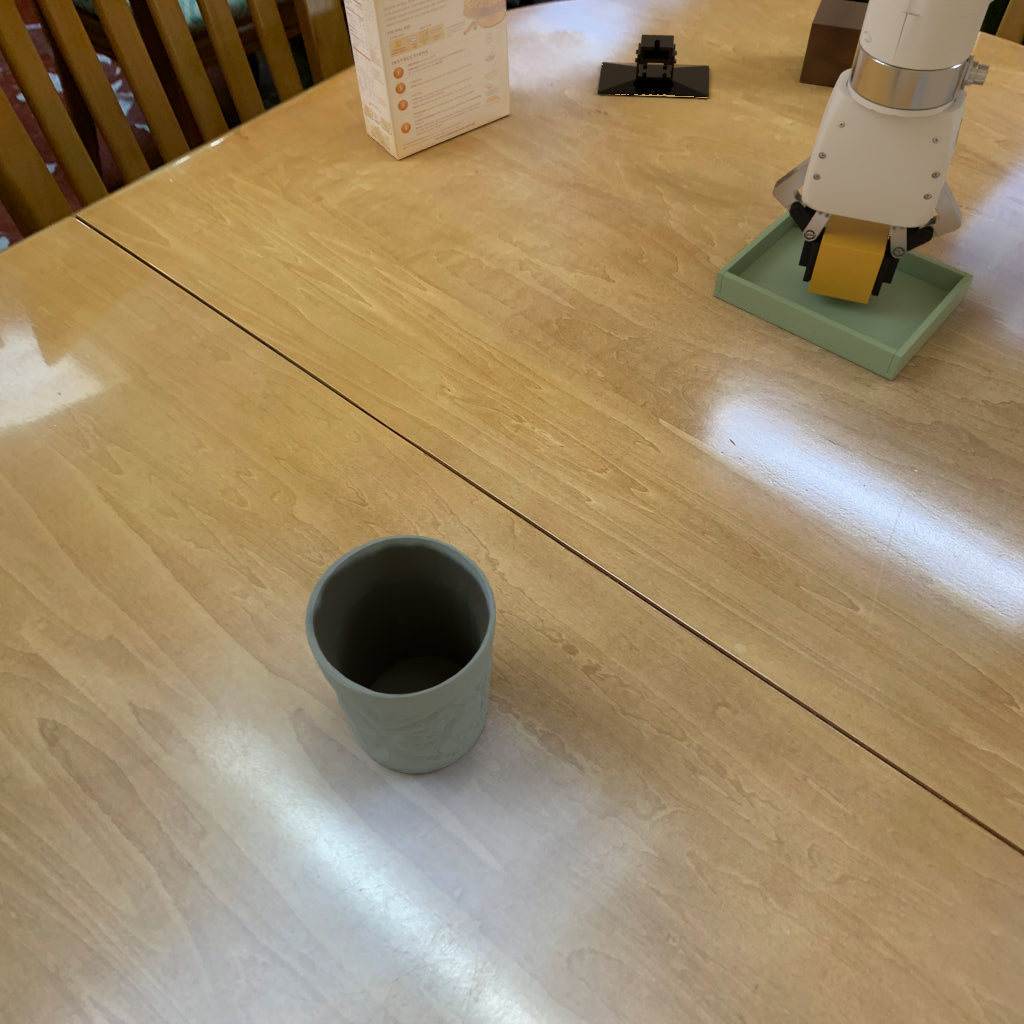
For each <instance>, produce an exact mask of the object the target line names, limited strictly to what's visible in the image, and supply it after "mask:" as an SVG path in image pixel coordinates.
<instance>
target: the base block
mask: <svg viewBox="0 0 1024 1024" xmlns="http://www.w3.org/2000/svg"><path fill="white" fill-rule="evenodd" d="M868 3H869V2H861V1H853V0H820V2H819V5H818V8H817V10H816V12H815V15H814V17H813V20H812V22H811V26H810V30H809V35H808V40H807V45H806V49H805V53H804V58H803V63H802V68H801V72H800V77H799V83H804V84H811V85H816V86H817V85H818V86H824V87H832V88H834V87H835V84H836V82H837V80H838V78H839V76H840V75H841V73H842V72H844V71H845V70H848V69H851V68H852V64H853V61H854V57H855V53H856V49H857V45H858V41H859V38H860V34H861V30H862V26H863V23H864V19H865V15H866V11H867V7H868Z"/></svg>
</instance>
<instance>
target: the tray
mask: <svg viewBox="0 0 1024 1024" xmlns="http://www.w3.org/2000/svg"><path fill="white" fill-rule="evenodd" d="M827 222H828V221H827ZM826 225H827V223H826V224H825V226H824V227H826ZM802 234H803V232H802V230H801V229H800V228H799V226H798V225H797V224H796V222H795V221H794V220H793V219H792V217H791V216H790V214H789V211H788V209H786V211H785V212H784V213H783V214H782V215H781V216H779V218H777V219H776V220H775V221H773V223H771V224H770V225H769V226H768V227H767V228H765V229H764V230H763V231H762V232H761V233H760V234H759V235H757V236H756V237H755V238H754V239H753V240H751V242H750V243H749V244H748V245H746V246H745V247H744V248H742V250H741V251H740V252H738V253H737V254H736V255H734V257H733V258H731V259H730V260H729V261H728V262H726V263H725V265H723V266H722V267H721V268H720V269H719V270H718V271H717V272H716V273H717V274H716V276H715V277H716V278H715V284H714V290H713V296H714V297H716V298H718V299H720V300H721V301H725V302H726V303H729V304H731V305H733V306H734V307H737V308H739V309H741V310H743V311H745V312H747V313H749V314H751V315H753V316H756V317H758V318H760V319H762V320H764V321H766V322H768V323H769V324H772V325H774V326H776V327H778V328H781V329H783V330H784V331H787V332H789V333H791V334H793V335H795V336H797V337H799V338H802V339H803V340H805V341H807V342H809V343H812V344H814V345H816V346H819V347H821V348H823V349H825V350H827V351H828V352H831V353H833V354H835V355H837V356H839V357H841V358H843V359H845V360H848V361H849V362H851V363H853V364H856V365H857V366H860V367H862V368H864V369H866V370H868V371H870V372H872V373H874V374H876V375H879V376H881V377H883V378H885V379H886V380H889V381H893V380H895V378H896V377H897V376H898V375H899V373H900V372H901V371H903V369H904V368H905V367H906V366H907V364H908V363H909V362H910V361H911V360H912V358H914V356H915V355H917V353H918V352H919V351H920V350H921V348H922V347H923V346H924V345H925V344H926V343H927V341H928V340H929V339H930V338H931V337H932V336H933V335H934V333H935V332H936V331H937V330H938V329H939V328H940V327H941V325H942V324H944V322H945V321H946V320H947V319H948V317H950V315H951V314H952V313H953V312H954V311H955V310H956V308H957V307H958V306H959V305H960V304H961V303H962V301H963V300H964V299H965V297H966V294H967V292H968V290H969V288H970V285H971V283H972V281H973V279H974V276H975V275H974V274H973V273H972V274H971V273H969V272H967V271H965V270H961V269H959V268H957V267H954V266H953V265H949V264H947V263H945V262H942V261H940V260H937V259H935V258H932V257H930V256H927V255H925V254H923V253H920V252H917V251H915V250H914V249H912V250H910V251H908V252H906V255H905V256H904V257H903V258H900V260H899V262H898V265H897V268H896V271H895V273H894V276H893V279H892V282H891V284H888V283H882V286H881V289H880V292H879V295H878V296H873V295H872V294H871V295H870V298H869V301H868V304H864V303H859V302H854V301H849V300H844V299H840V298H835V297H830V296H825V295H820V294H815V293H811V292H808V289H809V285H810V281H809V282H804V281H803V277H804V274H805V270H806V267H804V266H799V261H800V257H801V253H802V249H803V245H804V241H805V239H804V238H803V236H802Z"/></svg>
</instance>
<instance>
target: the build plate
mask: <svg viewBox="0 0 1024 1024" xmlns="http://www.w3.org/2000/svg"><path fill="white" fill-rule="evenodd" d="M676 45H677V44H676V43H675V35H670V34H641V38H640V42H638V46H637V49H636V50H635V55H637V56H636V57H635V58H634V62H620V61H619V62H616V61H615V62H614V61H603V62H601V66H600V73H599V80H598V86H597V95H598V94H611V95H610V96H615V94H620V95H621V94H626V95H627V94H629V95H634V94H638V95H642V94H645V95H649V94H652V95H657V94H659V95H663V94H666V95H675V96H694V97H708V96H709V97H710V65H708V64H681V63H680V64H679V63H678V64H677V62H678V60H677V58H676V56H678V51H677V50H676V47H677V46H676ZM602 64H603V65H602ZM601 67H602V68H601Z"/></svg>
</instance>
